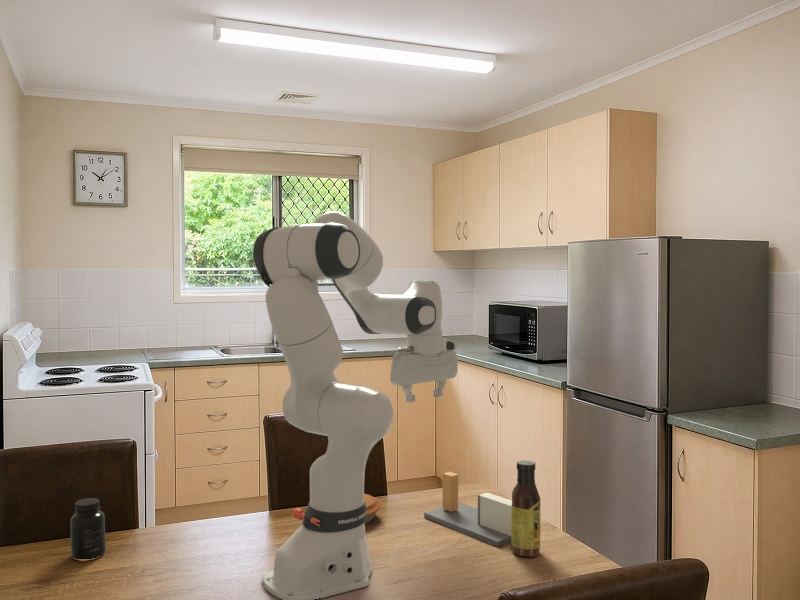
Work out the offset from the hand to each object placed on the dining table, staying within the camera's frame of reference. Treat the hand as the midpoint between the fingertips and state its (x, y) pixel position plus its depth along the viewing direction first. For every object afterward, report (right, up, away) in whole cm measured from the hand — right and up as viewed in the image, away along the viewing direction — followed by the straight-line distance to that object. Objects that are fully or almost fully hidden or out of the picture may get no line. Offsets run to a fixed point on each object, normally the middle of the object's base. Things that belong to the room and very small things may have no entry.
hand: (424, 399), depth 172 cm
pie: (-19, -30, -2) cm, 35 cm away
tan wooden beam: (+7, -28, 0) cm, 28 cm away
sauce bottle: (+21, -31, -22) cm, 43 cm away
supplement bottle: (-74, -31, -23) cm, 83 cm away
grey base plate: (+12, -29, -6) cm, 32 cm away
